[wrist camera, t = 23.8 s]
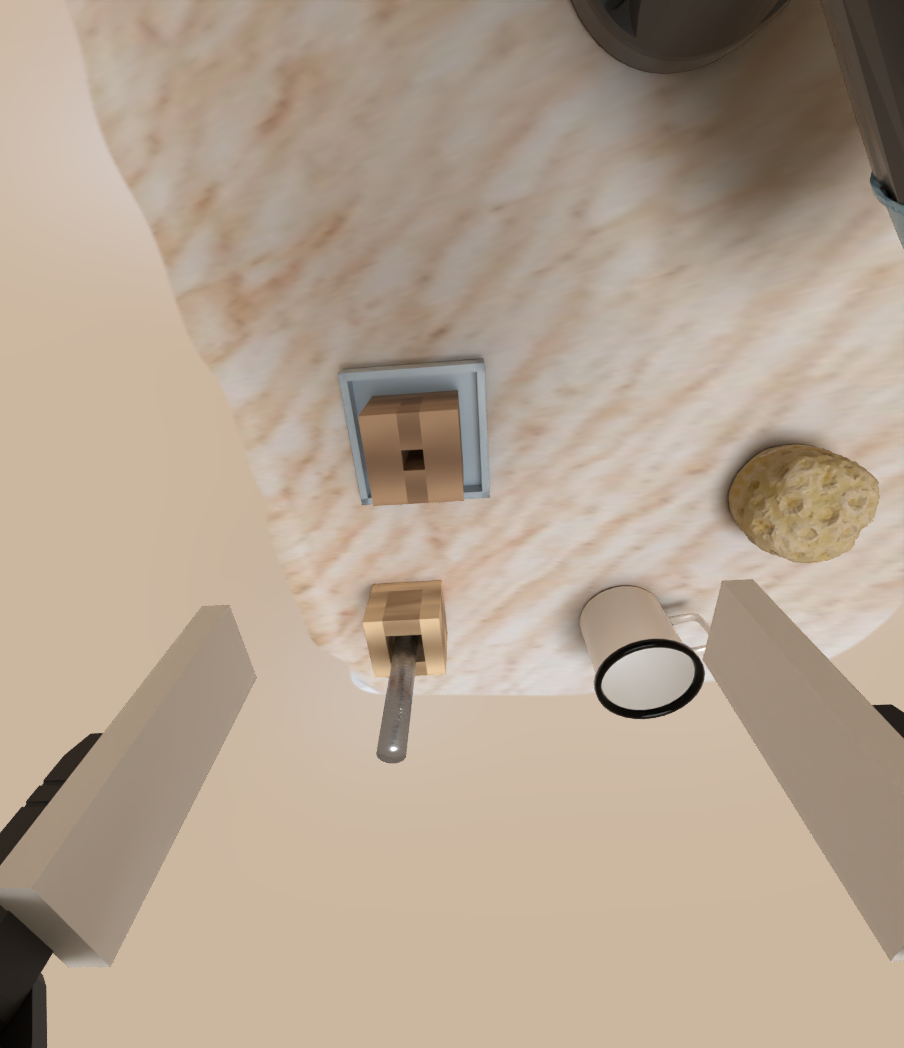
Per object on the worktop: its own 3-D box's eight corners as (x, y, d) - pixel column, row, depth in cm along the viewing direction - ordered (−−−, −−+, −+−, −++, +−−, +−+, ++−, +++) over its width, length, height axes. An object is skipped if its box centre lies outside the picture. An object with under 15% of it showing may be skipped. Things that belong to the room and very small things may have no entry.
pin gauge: (397, 610, 47) (373, 746, 34) (418, 608, 47) (403, 744, 34) (401, 626, 48) (379, 764, 35) (422, 625, 48) (408, 762, 35)
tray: (343, 368, 37) (337, 373, 36) (483, 358, 37) (484, 362, 35) (366, 495, 43) (362, 505, 41) (488, 488, 42) (489, 497, 40)
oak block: (373, 583, 48) (362, 622, 42) (441, 579, 47) (439, 618, 42) (383, 635, 51) (374, 677, 46) (447, 632, 50) (445, 674, 45)
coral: (781, 544, 44) (838, 593, 38) (700, 511, 43) (744, 556, 36) (855, 460, 40) (933, 498, 34) (768, 420, 39) (832, 451, 32)
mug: (582, 658, 52) (603, 728, 44) (566, 592, 47) (587, 656, 39) (693, 634, 50) (737, 703, 42) (687, 564, 46) (735, 625, 38)
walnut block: (372, 396, 38) (357, 416, 32) (458, 390, 37) (457, 409, 32) (384, 475, 41) (373, 505, 36) (463, 471, 41) (463, 500, 35)
